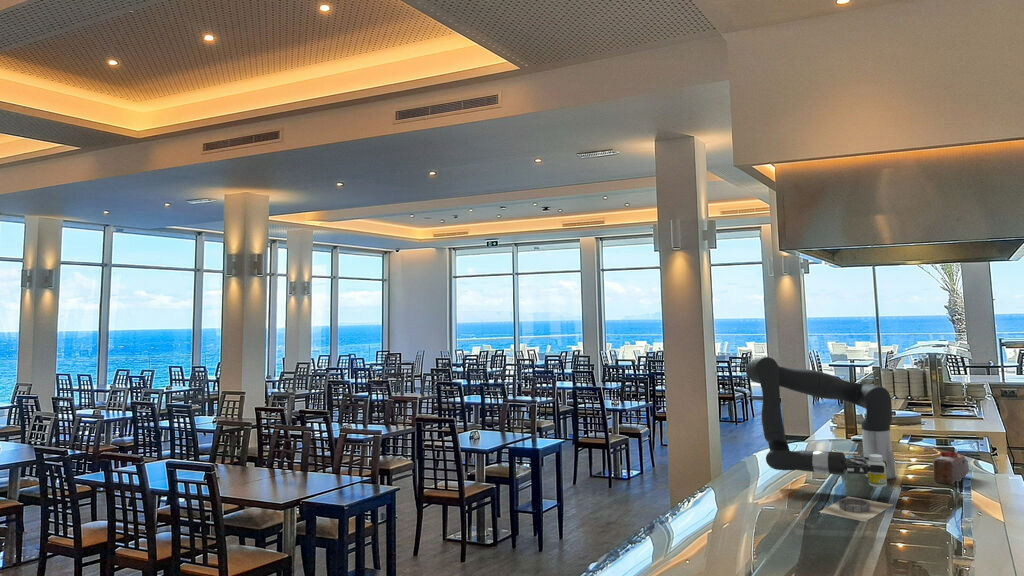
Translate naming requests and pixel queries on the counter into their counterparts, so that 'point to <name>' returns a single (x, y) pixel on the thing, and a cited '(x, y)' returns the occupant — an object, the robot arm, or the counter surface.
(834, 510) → the serving board
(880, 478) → the supplement bottle
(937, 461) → the food item
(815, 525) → the counter surface
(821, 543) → the counter surface
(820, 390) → the robot arm
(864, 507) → the bottle collar
